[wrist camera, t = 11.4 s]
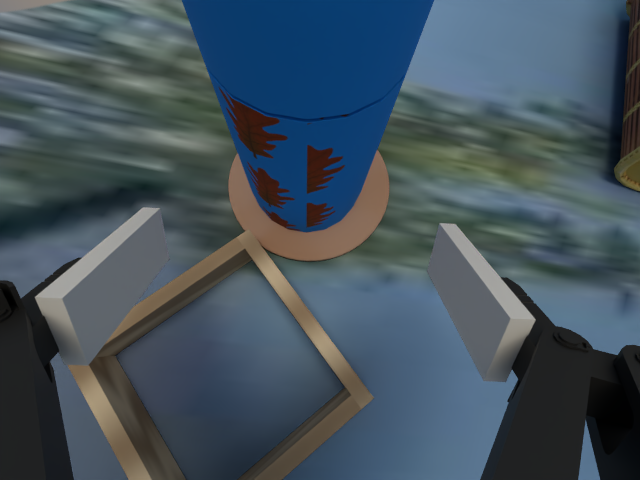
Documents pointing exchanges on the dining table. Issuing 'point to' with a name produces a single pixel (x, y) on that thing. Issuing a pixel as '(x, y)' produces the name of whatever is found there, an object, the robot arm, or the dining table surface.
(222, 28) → the thermos
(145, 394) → the dining table surface
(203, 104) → the dining table surface
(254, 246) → the square frame
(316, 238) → the saucer
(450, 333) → the dining table surface
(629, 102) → the picnic basket
